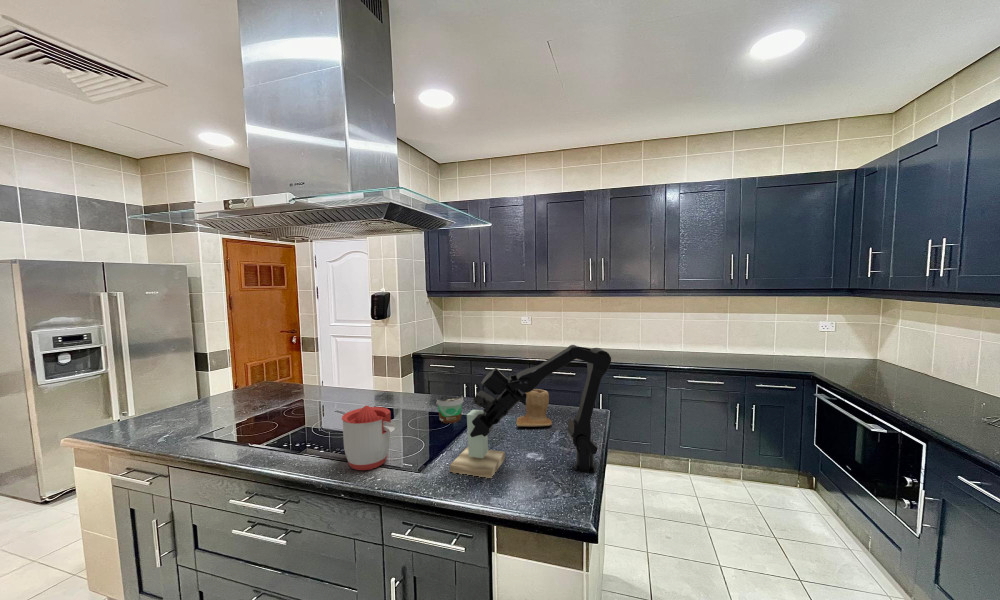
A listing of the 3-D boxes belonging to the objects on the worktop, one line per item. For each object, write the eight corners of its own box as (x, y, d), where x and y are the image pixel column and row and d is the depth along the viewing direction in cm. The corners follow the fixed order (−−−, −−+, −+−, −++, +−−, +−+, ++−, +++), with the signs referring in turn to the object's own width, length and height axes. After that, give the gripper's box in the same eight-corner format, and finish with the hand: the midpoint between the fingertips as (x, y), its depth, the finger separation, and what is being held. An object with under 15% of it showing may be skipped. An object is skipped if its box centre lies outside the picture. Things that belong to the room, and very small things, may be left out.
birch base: (491, 479, 118) (490, 471, 118) (450, 472, 123) (449, 465, 123) (504, 459, 132) (504, 452, 132) (467, 453, 136) (467, 446, 136)
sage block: (482, 458, 124) (481, 416, 123) (468, 456, 126) (466, 414, 125) (488, 451, 129) (486, 410, 128) (474, 449, 130) (472, 409, 130)
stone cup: (549, 419, 169) (548, 385, 169) (553, 429, 157) (553, 393, 157) (515, 419, 169) (514, 386, 168) (516, 430, 157) (516, 394, 156)
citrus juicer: (383, 476, 121) (381, 414, 120) (333, 472, 124) (331, 412, 123) (404, 454, 137) (402, 399, 136) (359, 451, 139) (357, 397, 138)
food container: (440, 426, 162) (439, 403, 162) (436, 421, 168) (436, 399, 168) (467, 421, 167) (467, 399, 167) (463, 417, 173) (462, 395, 173)
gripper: (497, 377, 134) (468, 405, 138) (477, 392, 116) (445, 424, 120) (519, 401, 131) (489, 429, 135) (502, 420, 114) (469, 452, 118)
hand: (474, 432), depth 127 cm, fingers closed on sage block, 5 cm apart
